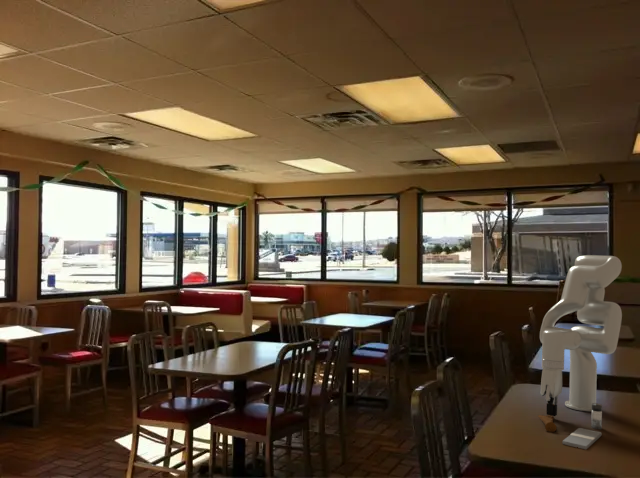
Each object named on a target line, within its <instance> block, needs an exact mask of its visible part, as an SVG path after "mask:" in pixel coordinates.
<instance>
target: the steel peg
mask: <svg viewBox="0 0 640 478" xmlns="http://www.w3.org/2000/svg"><path fill="white" fill-rule="evenodd" d="M602 420H603V405H602V404H600V403H597V402H596V403H592V411H591V420H590V421H591V423H590V424H591V425H590V426H591V428H592V429H595V430H602V428H603V427H602V426H603V425H602V423H603V421H602Z"/></svg>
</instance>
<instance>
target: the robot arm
mask: <svg viewBox="0 0 640 478" xmlns="http://www.w3.org/2000/svg"><path fill="white" fill-rule="evenodd" d="M622 267H623V265H622V262H621V260H620V258H618V257H617V256H615V255H614V256H613V255H596V254H592V255H591V254H586V255H579V256H577V257H576V258H575V261H574V265H573V266H571V267H570V268H569V269H568V272H567V274H566V278H565V282H564V286H563V288H562V289H563V290H562V293H561V297H560V300H559V301H558V302H557V303H555V304H554V305H553V306H552V307H550V309H549V310H548V311H547V312H546V313H545V315H544V317H543V319H542V323H541V326H540V329H539V330H540V331H539V340H540V343H541V344H542V347H541V348H542V349H541V368H542V371H541V380H540V381H541V382H540V396H542V397H543V396H545V401H546V411H545V412H546V416H547V415H550V416H553V417H556V416H558V401H559V399H558V398H559V396H560V395H561V394H562V392H563V371H564V370H565V351H566V350H568V351H569V392H568V393H569V395H568V396H569V397H568V398H569V399H568V400H566V401H564V405H565V406H566V407H567V408H568V409H572V410H576V411H581V412H592V403H597V379H598V376H597V375H598V373H597V371H598V370H597V368H598V367H597V366H598V365H597V364H598V363H597V360H596V358H595V356H594V354H593V353H596V354H602V355H612V354H614V353H615V351H616V350H617V346H618V342H619V336H620V331H621V326H622V317H623V313H622V309H621V306H620V305H619V304H618V303H616V302H614V301H606V300H605V301H604V298H605V294H606V290H605V288H606V287H608V286H609V285H611V283H612V282H614V280H616V279H617V278H618V277H619V275H620V274H621V272H622ZM574 312H576V316H577V320H578V321H579V322H580V323H582V324H587V325H592V326H585V325H575V326H572V327H571V328H564V327H558V326H556V327H555V324H556V322H557V321H559V319H561V318H562V317H564V316H566V315H568V314H572V313H574ZM594 326H601V327H594ZM602 327H603V328H602Z"/></svg>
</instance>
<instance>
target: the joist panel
mask: <svg viewBox="0 0 640 478" xmlns="http://www.w3.org/2000/svg"><path fill="white" fill-rule="evenodd" d="M601 436H602V432H601V431H597V430H596V431H595V430H591V429H588V428H583V427H578V428H577V429H575V430H574V431H573V432H571V433H570V435H568V436H567V437H565V438H564V439H563V440H562V445H564V446H565V445H566V446H570V447H575V448H577V447H578V449H581V450H587V449H589V448H590V447H591V446H592V445H593V444H594V443H595V442H596V441H597V440H598V439H599V438H601Z"/></svg>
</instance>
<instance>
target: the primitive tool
mask: <svg viewBox="0 0 640 478" xmlns="http://www.w3.org/2000/svg"><path fill="white" fill-rule="evenodd" d="M537 417H538V418H539V419H540V420H541V422H542V423H543V424H544V429H545V431H546V432H550V433H554V432H555V431H557V425H556V423H554V420H555V416H550V415H547V414H546V415H543V414H542V415H539V414H538V415H537Z"/></svg>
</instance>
